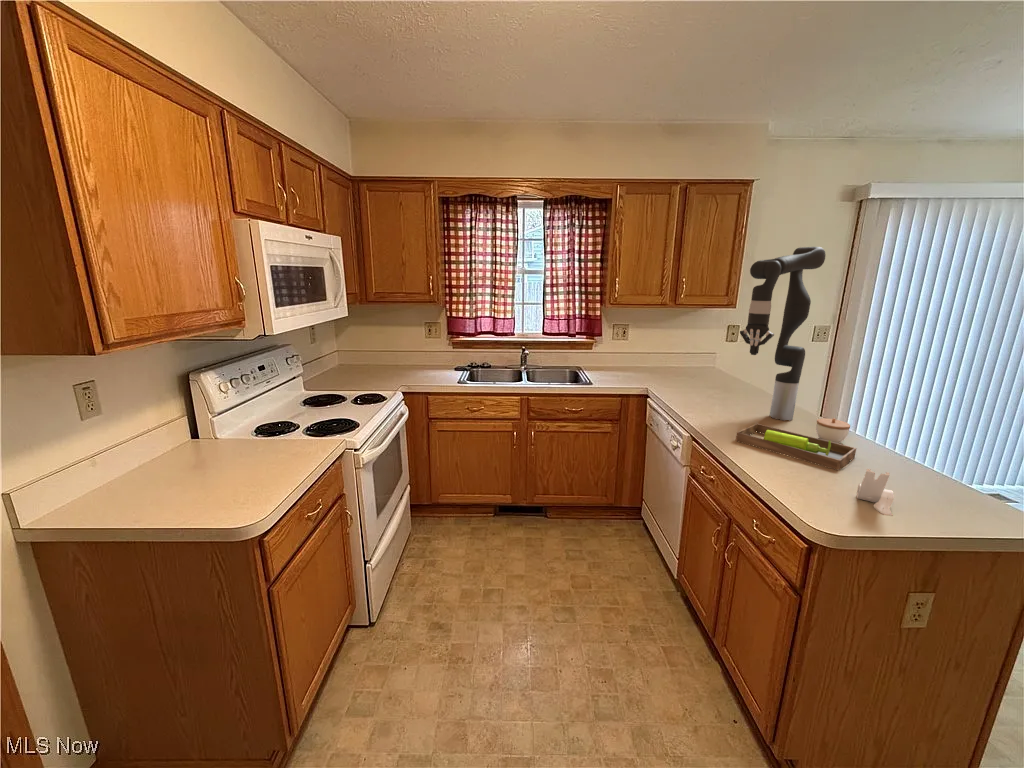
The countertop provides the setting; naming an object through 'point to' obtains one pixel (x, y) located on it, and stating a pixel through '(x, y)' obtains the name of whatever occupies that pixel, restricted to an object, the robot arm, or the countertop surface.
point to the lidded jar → (832, 429)
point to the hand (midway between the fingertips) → (753, 354)
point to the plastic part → (876, 491)
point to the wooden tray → (834, 460)
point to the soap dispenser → (795, 442)
